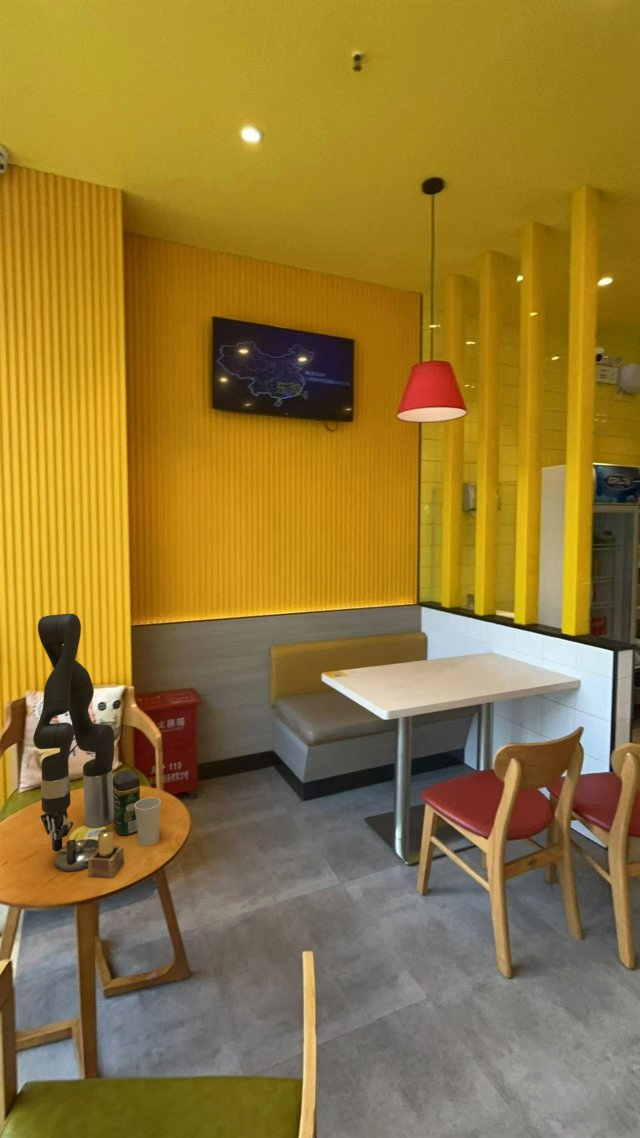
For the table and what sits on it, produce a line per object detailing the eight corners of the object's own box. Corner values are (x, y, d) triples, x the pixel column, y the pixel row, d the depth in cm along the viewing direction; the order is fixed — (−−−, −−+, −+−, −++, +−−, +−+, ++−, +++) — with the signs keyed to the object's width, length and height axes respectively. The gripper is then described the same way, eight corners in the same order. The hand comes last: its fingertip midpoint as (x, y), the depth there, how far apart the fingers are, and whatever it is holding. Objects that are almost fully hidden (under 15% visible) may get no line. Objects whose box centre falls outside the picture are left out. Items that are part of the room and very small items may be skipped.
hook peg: (103, 865, 156) (102, 828, 155) (116, 866, 155) (115, 829, 155) (96, 873, 152) (95, 836, 151) (109, 874, 151) (108, 836, 151)
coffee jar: (111, 826, 177) (109, 771, 176) (135, 818, 182) (133, 765, 181) (119, 839, 169) (117, 782, 169) (144, 831, 174) (142, 775, 173)
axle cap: (77, 845, 161) (77, 839, 160) (86, 846, 160) (86, 839, 160) (71, 851, 158) (71, 845, 157) (81, 851, 157) (80, 845, 157)
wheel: (66, 846, 165) (65, 821, 165) (108, 844, 166) (108, 819, 166) (47, 872, 152) (46, 845, 152) (93, 870, 153) (92, 843, 152)
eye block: (101, 862, 157) (100, 845, 157) (124, 863, 156) (123, 846, 156) (88, 876, 150) (88, 859, 150) (112, 878, 149) (111, 860, 149)
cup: (131, 840, 169) (129, 803, 168) (154, 830, 174) (153, 794, 174) (142, 850, 163) (141, 812, 162) (166, 840, 169) (165, 803, 168)
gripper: (30, 791, 155) (32, 849, 155) (56, 802, 148) (58, 863, 148) (54, 781, 161) (56, 837, 162) (81, 791, 154) (83, 850, 155)
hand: (57, 849), depth 155 cm, fingers closed
